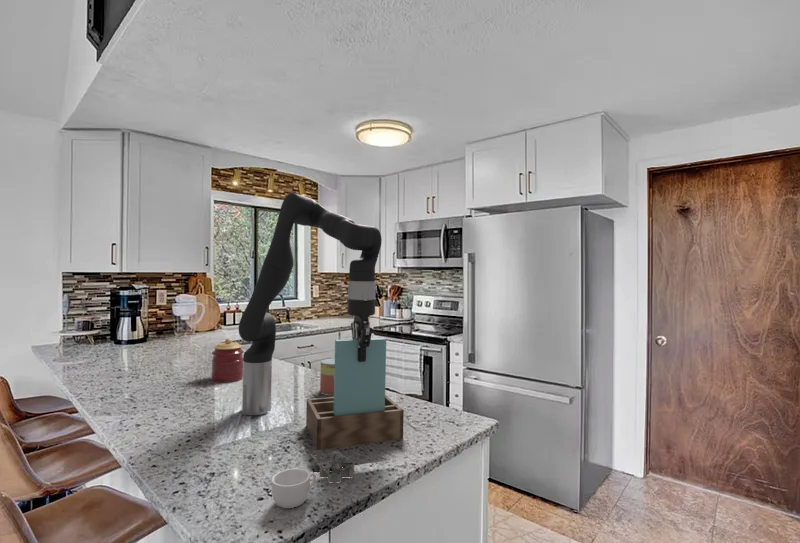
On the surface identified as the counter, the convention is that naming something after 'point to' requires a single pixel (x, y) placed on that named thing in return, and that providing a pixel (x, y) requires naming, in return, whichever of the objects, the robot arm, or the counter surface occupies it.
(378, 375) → the teal board
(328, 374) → the canned food
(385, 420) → the rack
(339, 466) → the egg carton
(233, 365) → the canister
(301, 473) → the teacup
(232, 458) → the counter surface
